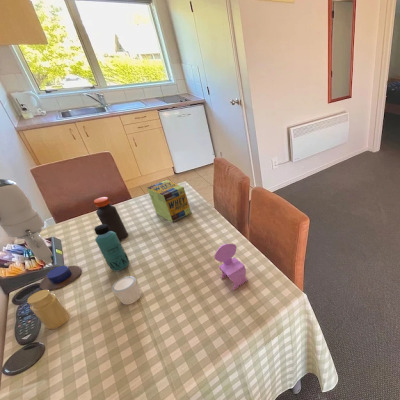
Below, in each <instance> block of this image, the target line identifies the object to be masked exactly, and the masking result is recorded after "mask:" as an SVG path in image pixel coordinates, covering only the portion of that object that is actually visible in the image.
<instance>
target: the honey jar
mask: <svg viewBox="0 0 400 400" xmlns="http://www.w3.org/2000/svg"><path fill="white" fill-rule="evenodd" d="M26 301H27V304H28V305H29V309H30V311H31V312H33V314H34V315H35V317H36V318H37V319H38V320H39V321H40V322H41V323H42V325H44V327H45V328H46V329H47V330H54V329H57V328H59V327H61V326H63V325H65V324H66V323H67V321H69V320H70V318H71V314H70V313H69V312H68V311H69V310H67V309H66V307H65V306H64V304H63V303H62V302H61V301H60V300H59V298H58V297H57V295H56V294H54V293H51V291H49V290H42V289H40V290H39V291H36V292H34V293H33V294H31V295H30V296H29V297H28V298H27V300H26Z"/></svg>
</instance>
